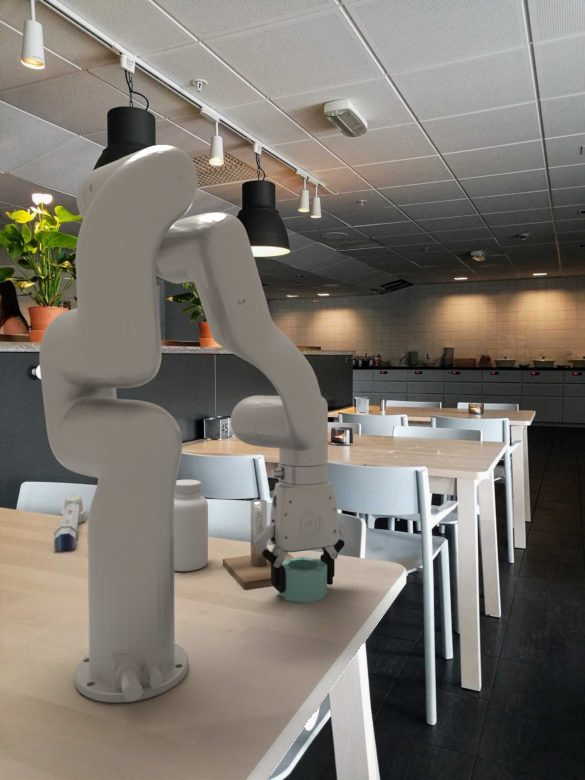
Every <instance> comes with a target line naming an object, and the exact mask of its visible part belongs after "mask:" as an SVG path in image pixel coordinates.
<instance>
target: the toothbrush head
mask: <svg viewBox="0 0 585 780" xmlns="http://www.w3.org/2000/svg"><path fill="white" fill-rule="evenodd" d="M64 501H65V502H64V508H62V509H61V512H60V516H61V519H60V521H59V524H58V527H57V529H56V531H54V533H53V536H54V537H53V547H54V549H55V550H56V551H57V552H59V553H61V552H63V551H64V552H71V551H72V550H74V548H75V547H76V542H78V541H79V530H78V529H79V524H78V523H81V522H82V523H84V522H85V521H84V520H86V514H87V507H85V506H84V504H83V499H82V496H81V495H79V494H74V495H72V494H71V495H69V496H67V497H66V498H65V500H64ZM83 521H84V522H83ZM82 523H81V524H82ZM64 552H63V553H64Z"/></svg>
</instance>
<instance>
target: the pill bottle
mask: <svg viewBox="0 0 585 780" xmlns="http://www.w3.org/2000/svg"><path fill="white" fill-rule="evenodd" d="M201 491H202V482H201V481H200V480H197V479H177V481H176V488H175V499H174V572H192V571H196V570H199V569H202V568H204V567H206V566H207V564H208V561H209V504H208V501H207V499H206V497H204V496H202V495H201Z"/></svg>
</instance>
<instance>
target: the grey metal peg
mask: <svg viewBox="0 0 585 780" xmlns="http://www.w3.org/2000/svg"><path fill="white" fill-rule="evenodd" d="M267 514H268V501H267V500H266V499H252V500H250V555H251V565H252V566H254V567H263V566H266V565H267V559H266V558H265V557H264V556H263V555H261V553H260V552H259V551H258V549H257V548H256V547H255V546H254V544H253V542H252V541H253V539H254V538H256V537H257V536H258V535H259V534H260V533H261V532H262V531H263V530H264V529H266V528H267V527H268V515H267ZM267 545H268V541H267V542H266V547H267V548H268V546H267Z"/></svg>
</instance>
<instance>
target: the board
mask: <svg viewBox="0 0 585 780" xmlns="http://www.w3.org/2000/svg"><path fill="white" fill-rule="evenodd" d="M291 558H295V557H294V556H292V555H291V554H290V553H289V552H288V553H287V555H286V557H285V559H291ZM285 559H284V560H285ZM222 567H223V568H224V569H225V570H226V571H227V572H228V573H229V574H230V575H231V576H232V577H233V579H234V580H235V581H236V582H237V583H238V585H240V586H241V587H242V589H243V590H249V589H256V588H261V587H263V588H264V587H269V586H273V585H272V584H271V563H270V562H269V561H268V560H267V565H266V566H263V567H254V566H252V565H251V554H249V555H244V556H235V557H229V558H222Z"/></svg>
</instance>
